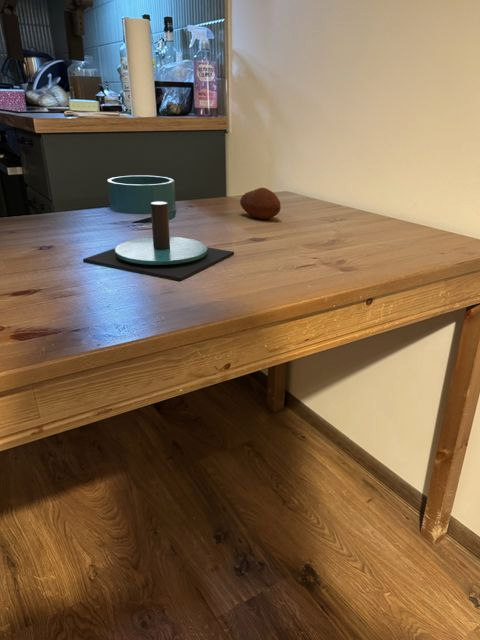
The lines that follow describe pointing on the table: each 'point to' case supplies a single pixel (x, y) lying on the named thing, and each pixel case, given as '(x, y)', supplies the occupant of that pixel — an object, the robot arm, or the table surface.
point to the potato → (260, 203)
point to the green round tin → (141, 194)
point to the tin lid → (160, 243)
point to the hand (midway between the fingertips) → (45, 60)
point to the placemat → (164, 271)
